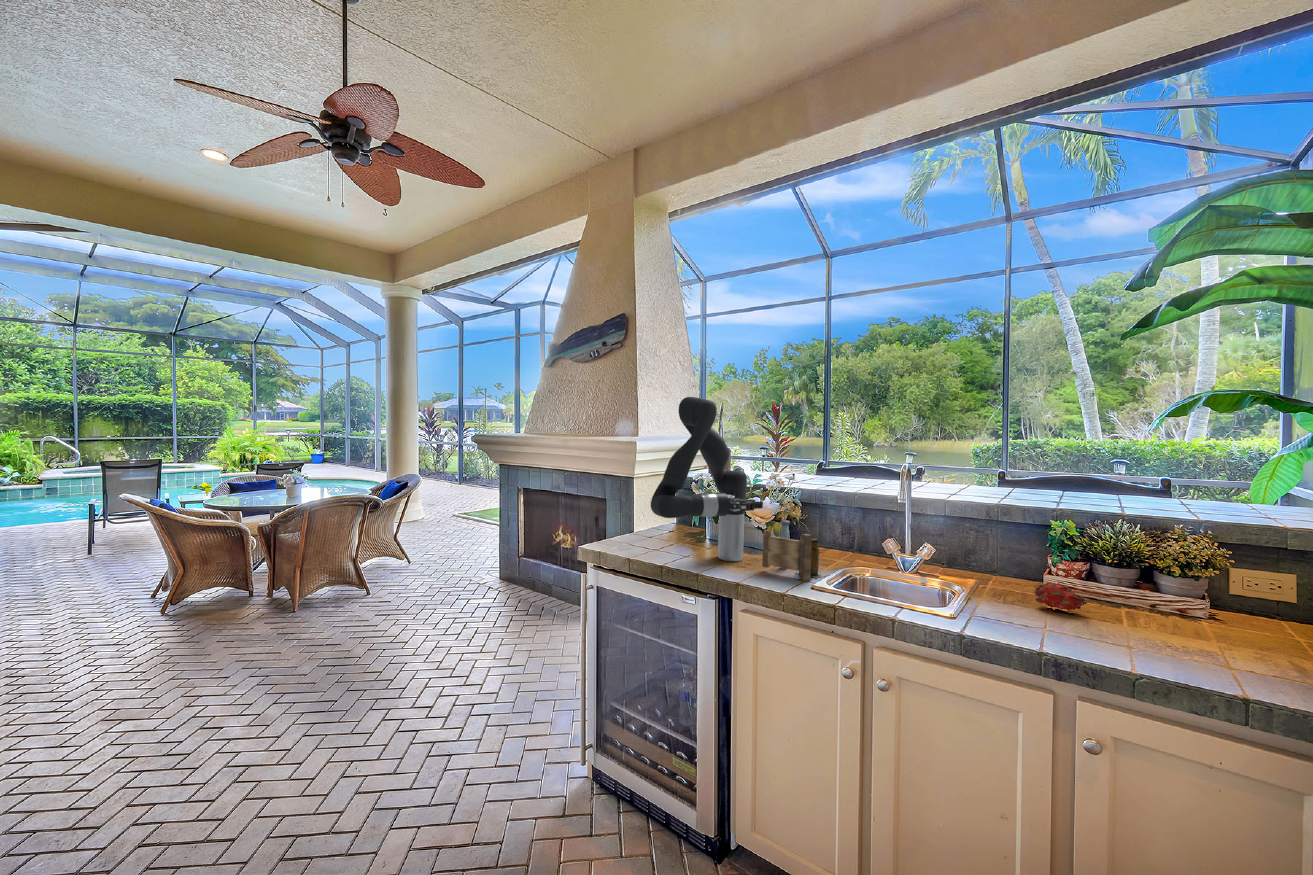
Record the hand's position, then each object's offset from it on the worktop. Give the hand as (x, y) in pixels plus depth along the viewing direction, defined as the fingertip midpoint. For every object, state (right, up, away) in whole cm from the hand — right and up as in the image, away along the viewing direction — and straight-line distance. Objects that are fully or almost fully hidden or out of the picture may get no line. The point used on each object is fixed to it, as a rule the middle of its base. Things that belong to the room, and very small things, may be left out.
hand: (758, 503), depth 174 cm
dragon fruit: (+80, -27, -26) cm, 89 cm away
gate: (+9, -23, +3) cm, 25 cm away
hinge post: (+15, -25, -3) cm, 29 cm away
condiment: (+19, -25, +5) cm, 32 cm away
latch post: (+11, -24, +12) cm, 29 cm away
